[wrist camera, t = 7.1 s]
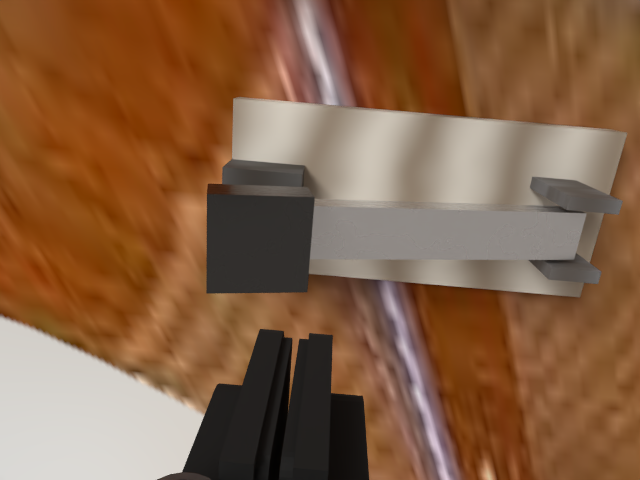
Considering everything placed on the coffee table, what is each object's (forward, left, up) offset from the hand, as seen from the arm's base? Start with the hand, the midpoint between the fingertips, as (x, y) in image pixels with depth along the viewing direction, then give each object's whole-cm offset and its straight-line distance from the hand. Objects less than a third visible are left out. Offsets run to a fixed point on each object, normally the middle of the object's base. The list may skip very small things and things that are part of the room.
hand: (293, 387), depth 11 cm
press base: (-7, +1, -26) cm, 26 cm away
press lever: (-5, +1, -18) cm, 19 cm away
